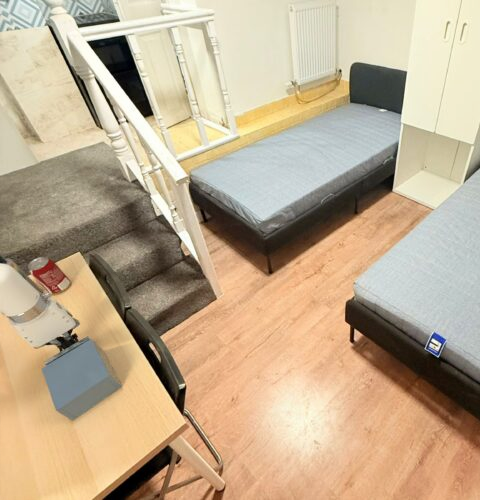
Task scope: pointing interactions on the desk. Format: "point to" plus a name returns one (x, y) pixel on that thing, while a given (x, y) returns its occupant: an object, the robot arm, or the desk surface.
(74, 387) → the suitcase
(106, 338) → the desk surface
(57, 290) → the soda can
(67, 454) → the desk surface
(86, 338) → the drawer
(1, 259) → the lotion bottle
